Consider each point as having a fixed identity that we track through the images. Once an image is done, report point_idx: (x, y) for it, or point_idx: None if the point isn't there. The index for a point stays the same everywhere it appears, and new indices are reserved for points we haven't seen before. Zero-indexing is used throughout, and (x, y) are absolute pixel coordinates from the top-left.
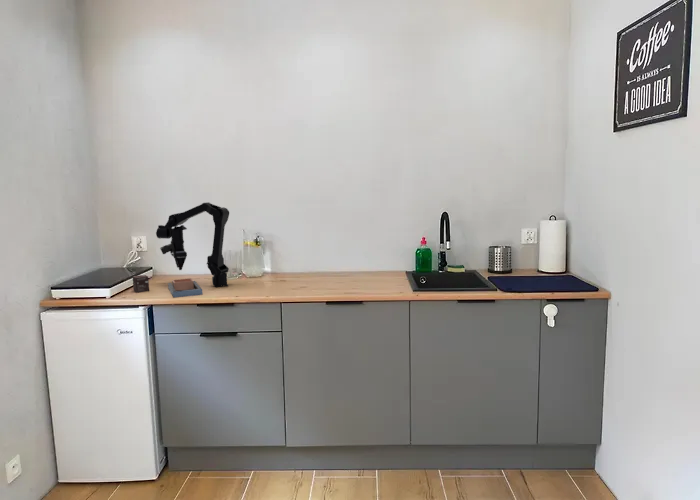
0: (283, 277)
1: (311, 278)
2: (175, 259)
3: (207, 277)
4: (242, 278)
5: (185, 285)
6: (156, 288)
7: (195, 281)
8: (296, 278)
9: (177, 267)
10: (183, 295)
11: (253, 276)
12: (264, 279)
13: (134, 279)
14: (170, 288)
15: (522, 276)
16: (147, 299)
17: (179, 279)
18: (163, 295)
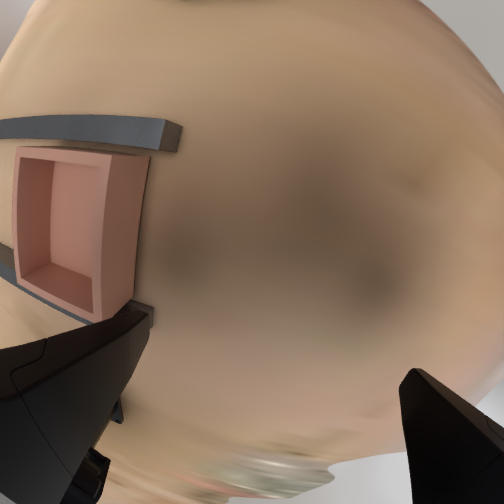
0: (156, 500)
1: (118, 496)
2: (480, 443)
3: (353, 441)
4: (208, 484)
5: (31, 223)
6: (242, 48)
7: None
8: (129, 496)
9: (411, 369)
10: None
11: (221, 500)
12: (150, 485)
13: None
14: (29, 117)
15: None
16: (26, 23)
17: (94, 225)
18: (27, 80)
